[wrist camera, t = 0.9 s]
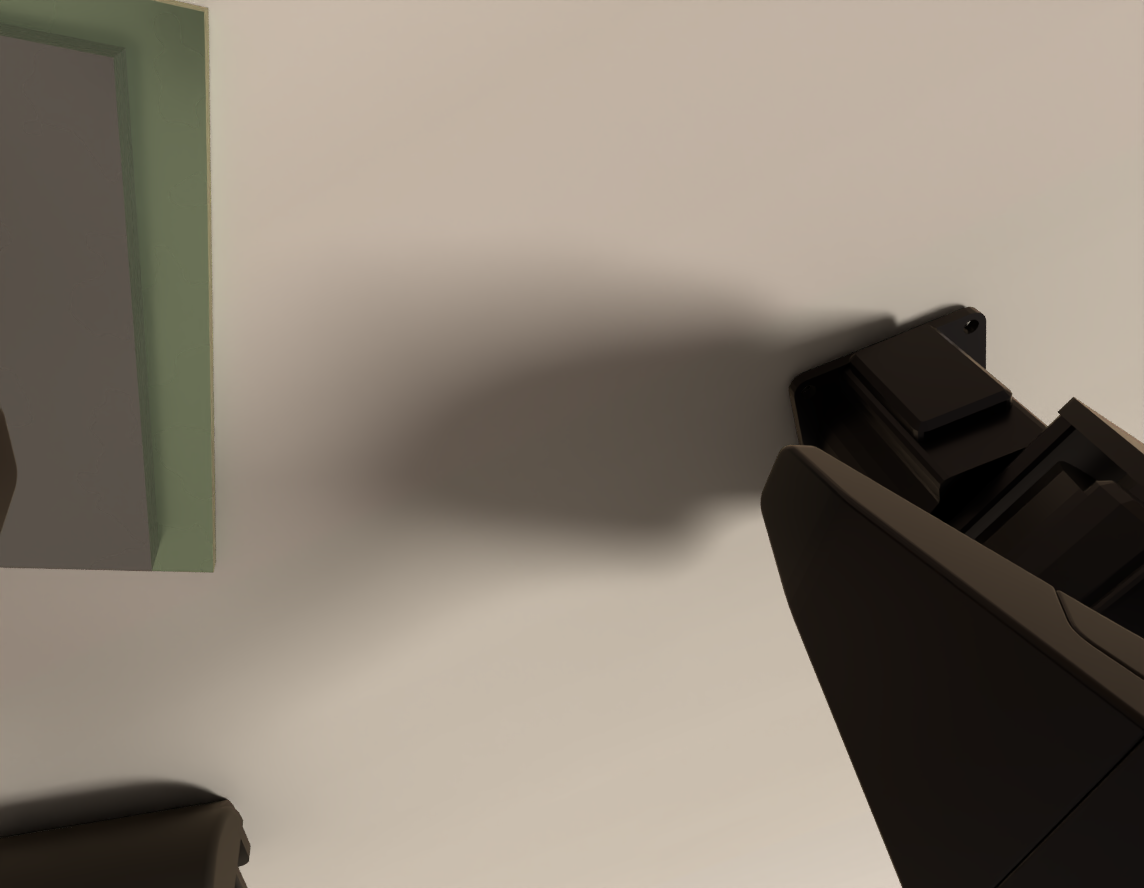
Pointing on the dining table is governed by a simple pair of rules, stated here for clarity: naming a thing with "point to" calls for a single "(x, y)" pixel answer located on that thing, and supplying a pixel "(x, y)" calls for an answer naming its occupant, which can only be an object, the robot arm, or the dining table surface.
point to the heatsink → (107, 285)
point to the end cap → (133, 852)
